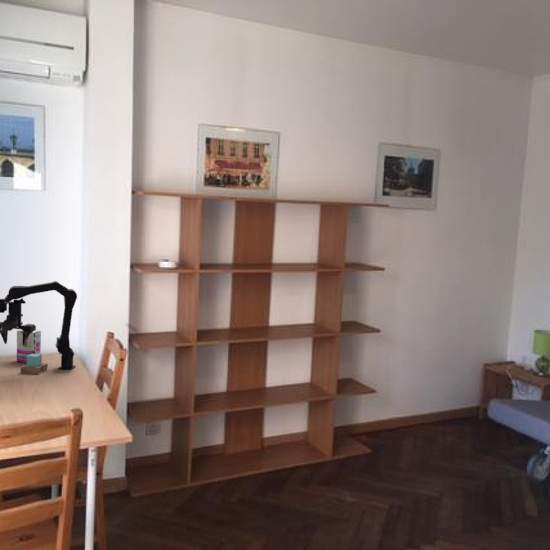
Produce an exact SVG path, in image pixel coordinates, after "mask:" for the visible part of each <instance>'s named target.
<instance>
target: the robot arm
mask: <svg viewBox="0 0 550 550" xmlns="http://www.w3.org/2000/svg"><path fill="white" fill-rule="evenodd" d="M51 291H55V292H56V293H58V294H60V295H61V296H63V305H64V309H63V310H64V311H63V318H62V324H61V330H60V335H59V337H56V343H55V348H56V349H57V352H58V353H59V354H60V363H61V364H60V366H59V367H58V368H57V369H58V370H69V371H71V370H73V369H74V368H76V367H77V365H74V355H75V352H74V350H73V348H71V345H70V331H71V330H70V329H71V325H72V323H71V322H72V316H73V310H74V307H75V304H76V301H77V299H78V294H77V292H76V291H75V290H74V289H72V288H68V287H66V286H64V285H63V284H61V283H60V282H58V281H55V280H54V281H52V282H51V281H50V282H46V283H39V284H33V285H13V286H11V287H9V289H8V293H7V295H5V297H4V298H0V314H1V313H2V314H3V313H5V312H8V314H7V315H6V318H5V320H3V321H0V335H1V338H2V340H3V343H4V344H5V345H6V344H8V343H7V342H8V334H9V331H10V332H11V331H13V330H21V329H22V330H23V331H24V332H22V334H23V345H25V343H26V341H27V339H28V337H29V335H30V333H31V332H33V331H34V330H35V331H37V326H36V325H35V324H32V323H27V324H23V322H22V317H23V316H24V315H23V313H22V304H26V300H25V299H24V297H26V296H30V295H34V294H39V293H46V292H51Z"/></svg>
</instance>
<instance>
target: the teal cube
mask: <svg viewBox="0 0 550 550" xmlns="http://www.w3.org/2000/svg"><path fill="white" fill-rule="evenodd" d="M42 357H43V354H42V353H40V354H30V355H28V356H27V363H26V364H27V366H32V367H37V366H39V365H41V364H42V363H43V358H42Z"/></svg>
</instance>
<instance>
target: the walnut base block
mask: <svg viewBox="0 0 550 550" xmlns="http://www.w3.org/2000/svg"><path fill="white" fill-rule="evenodd" d="M48 364H49V363H45V362H44V363H43V362H42V364H41V365H39V366H37V367H32V366H27V363H24V364H23V365H21V366H20V373H21V374H28V373H31V374H30V375H40V374H41V372H42V373H44V372H46V371H48V370H47V369H48ZM45 370H46V371H45ZM43 371H44V372H43ZM39 373H40V374H39Z"/></svg>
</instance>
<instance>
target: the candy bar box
mask: <svg viewBox="0 0 550 550" xmlns="http://www.w3.org/2000/svg"><path fill="white" fill-rule="evenodd" d="M22 332H24V331H23V330H22V329H17V330H16V362H17V361H18V362H17V363H23V362H25V363H24V364H27V356H28V355H30V354H41V350H42V349H41V344H42V343H41V339H42V337H41V336H42V334H41V333H42V331H41V330H34V331H33V332H31V333H30V335H29V337H28V339H27V341H26V343H25V345H23V334H22Z"/></svg>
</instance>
